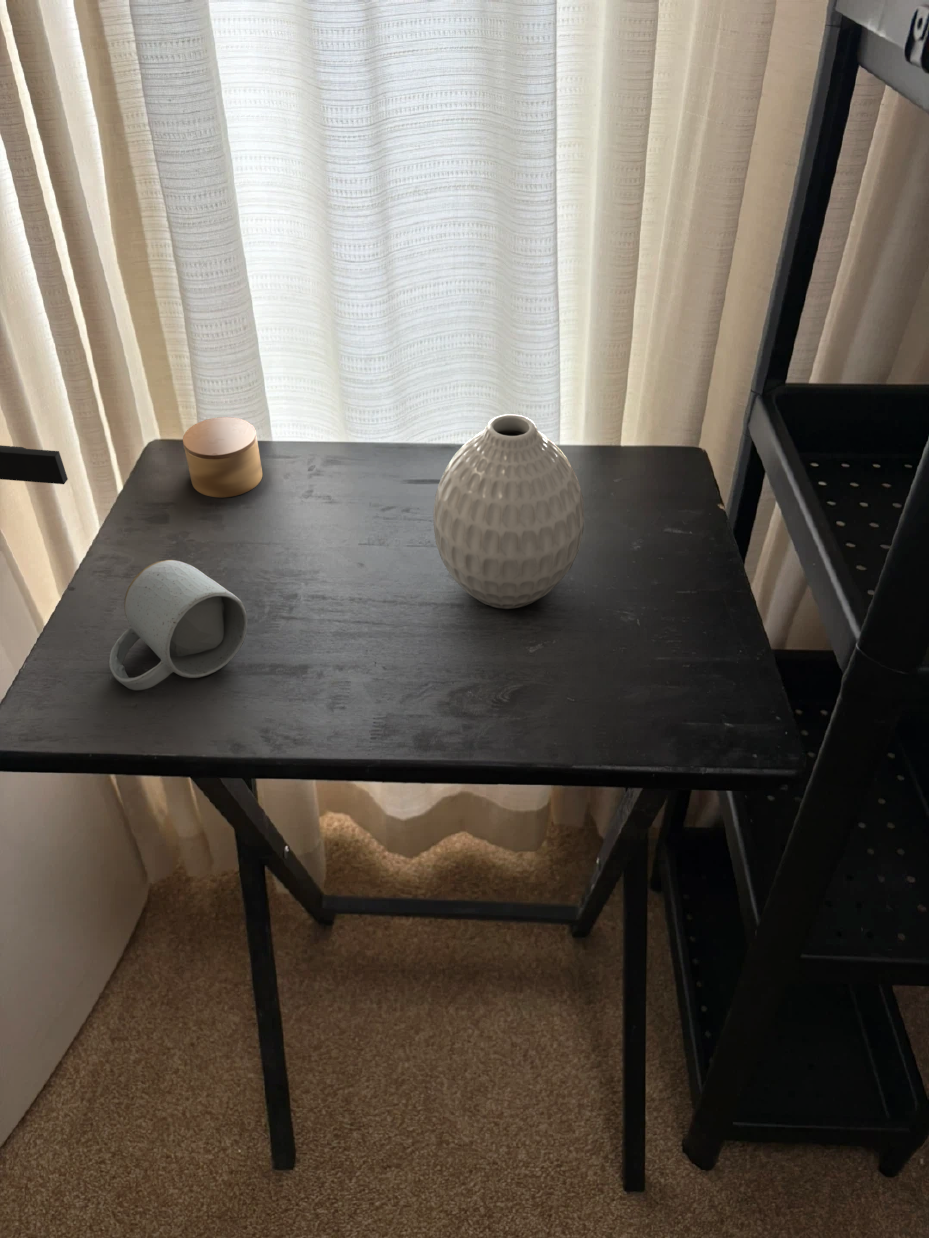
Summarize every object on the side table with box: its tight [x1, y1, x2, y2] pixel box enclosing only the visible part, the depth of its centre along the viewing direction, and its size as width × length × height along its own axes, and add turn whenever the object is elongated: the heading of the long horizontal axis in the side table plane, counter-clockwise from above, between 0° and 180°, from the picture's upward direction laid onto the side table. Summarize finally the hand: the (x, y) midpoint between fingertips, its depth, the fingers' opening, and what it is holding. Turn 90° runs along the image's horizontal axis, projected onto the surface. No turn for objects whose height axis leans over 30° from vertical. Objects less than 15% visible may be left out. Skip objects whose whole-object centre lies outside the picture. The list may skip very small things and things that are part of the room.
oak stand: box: [182, 416, 263, 498], centre depth 105 cm, size 7×7×5 cm
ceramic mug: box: [108, 559, 249, 691], centre depth 84 cm, size 11×8×8 cm
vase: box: [432, 413, 585, 610], centre depth 87 cm, size 13×13×17 cm
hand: (24, 518), depth 78 cm, fingers open, 13 cm apart
